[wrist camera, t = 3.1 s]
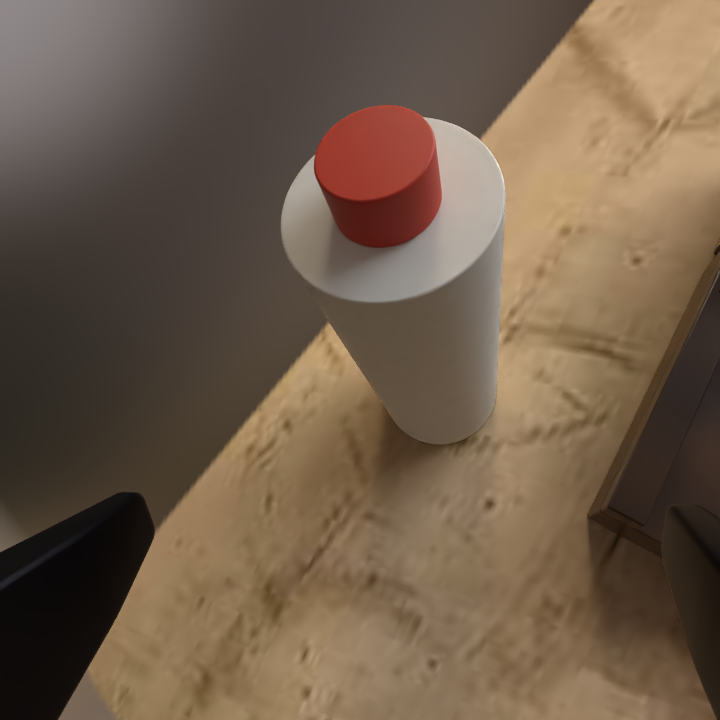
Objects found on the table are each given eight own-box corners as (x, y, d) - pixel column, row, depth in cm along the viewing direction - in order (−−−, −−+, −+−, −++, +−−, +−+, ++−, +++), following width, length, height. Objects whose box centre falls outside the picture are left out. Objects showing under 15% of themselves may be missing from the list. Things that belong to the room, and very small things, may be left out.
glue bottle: (481, 458, 21) (470, 283, 8) (372, 428, 23) (213, 242, 10) (507, 352, 22) (534, 57, 9) (402, 331, 24) (302, 55, 11)
